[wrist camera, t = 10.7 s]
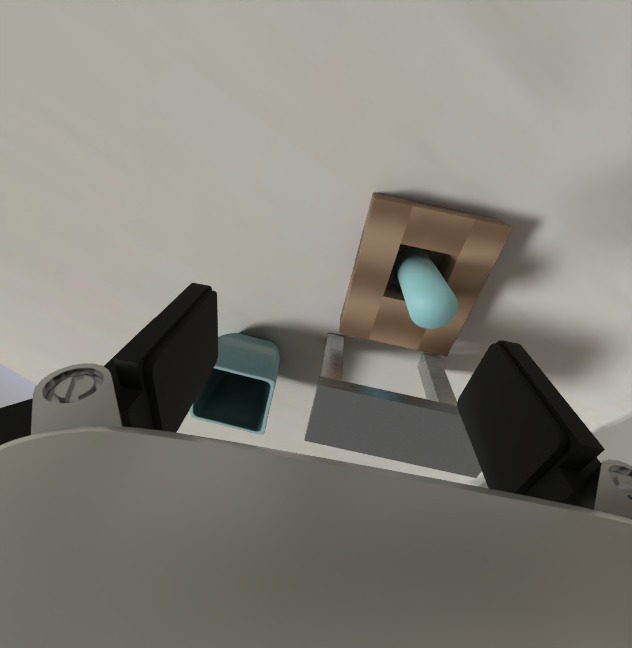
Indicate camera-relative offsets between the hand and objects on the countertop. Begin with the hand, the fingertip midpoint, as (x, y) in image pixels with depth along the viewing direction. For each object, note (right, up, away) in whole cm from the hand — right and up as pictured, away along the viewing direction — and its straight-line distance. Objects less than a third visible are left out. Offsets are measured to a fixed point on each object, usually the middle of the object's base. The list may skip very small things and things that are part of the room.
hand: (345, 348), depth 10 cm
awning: (+8, -1, +26) cm, 27 cm away
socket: (+9, +6, +22) cm, 25 cm away
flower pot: (-9, -3, +30) cm, 31 cm away
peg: (+9, +7, +21) cm, 24 cm away
